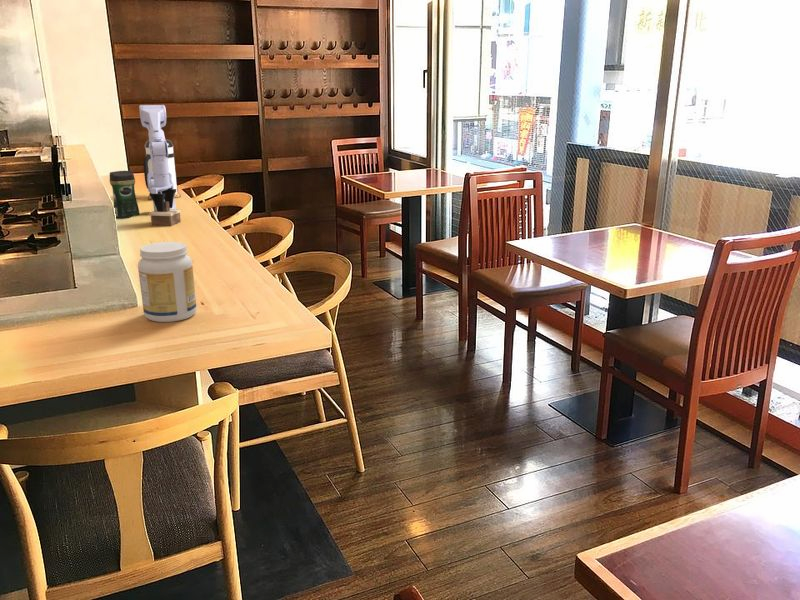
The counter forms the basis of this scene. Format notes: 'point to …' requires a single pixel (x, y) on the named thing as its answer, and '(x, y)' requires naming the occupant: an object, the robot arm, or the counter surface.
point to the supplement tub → (166, 282)
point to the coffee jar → (124, 194)
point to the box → (165, 220)
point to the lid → (165, 211)
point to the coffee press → (171, 164)
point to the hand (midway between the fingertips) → (164, 209)
